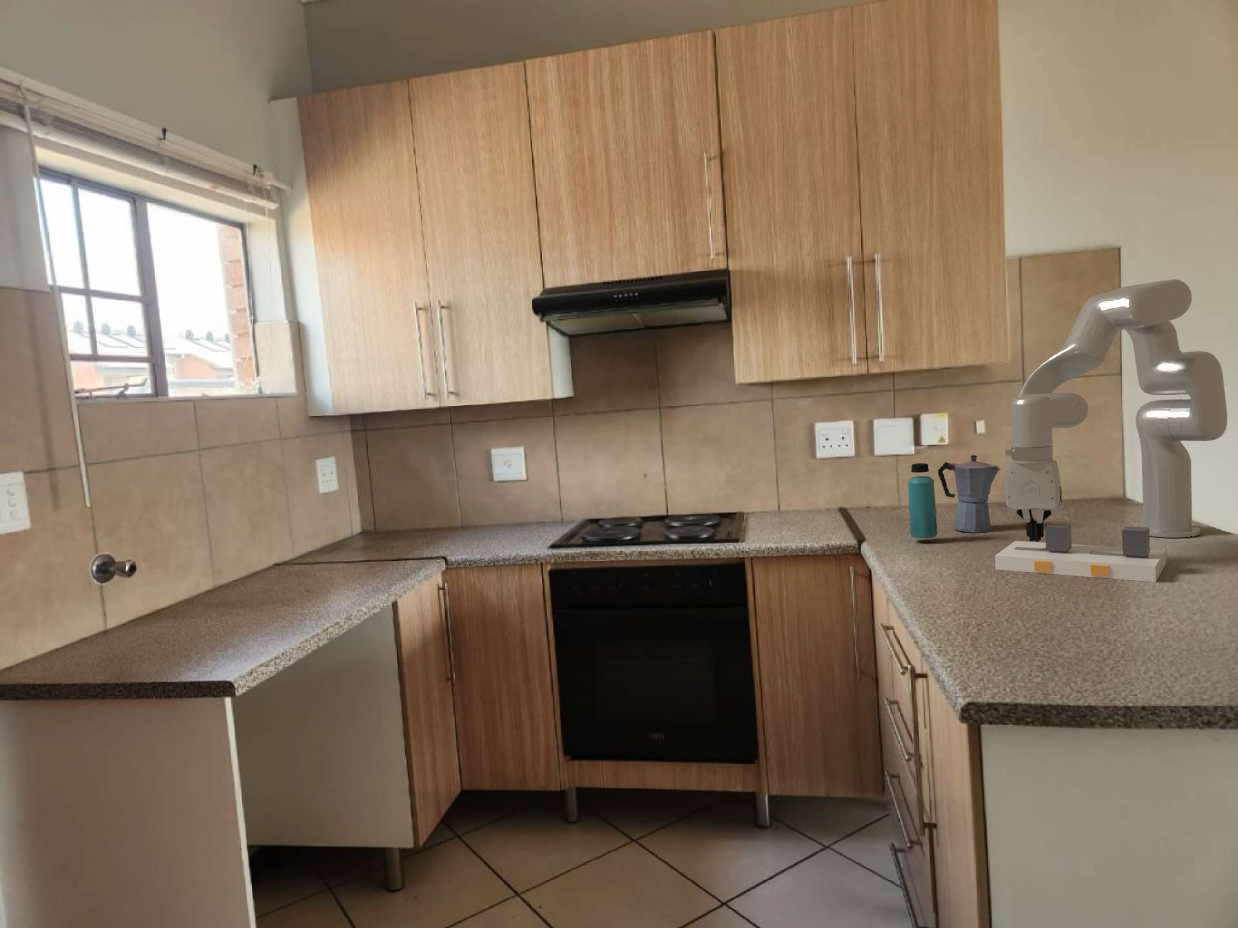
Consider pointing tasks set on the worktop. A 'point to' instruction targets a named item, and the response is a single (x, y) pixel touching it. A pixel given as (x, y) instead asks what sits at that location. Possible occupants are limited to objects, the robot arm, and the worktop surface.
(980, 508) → the moka pot
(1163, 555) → the switch panel
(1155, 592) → the worktop surface
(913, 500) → the beverage bottle
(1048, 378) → the robot arm
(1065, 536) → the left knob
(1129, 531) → the right knob
